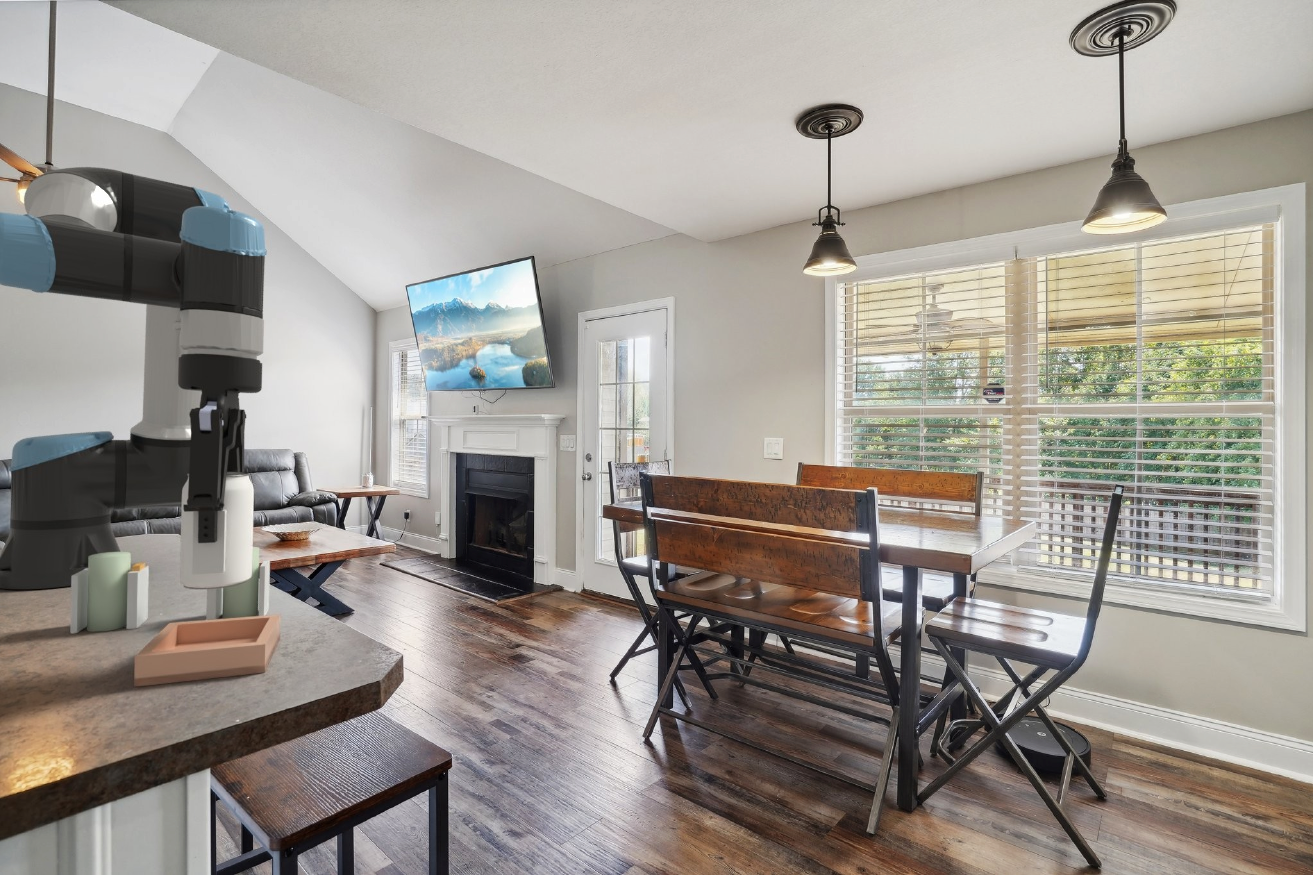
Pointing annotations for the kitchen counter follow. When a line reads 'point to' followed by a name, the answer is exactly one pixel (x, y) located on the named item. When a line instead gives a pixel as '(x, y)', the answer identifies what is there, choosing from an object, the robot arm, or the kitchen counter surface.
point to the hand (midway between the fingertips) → (217, 565)
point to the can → (237, 537)
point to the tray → (208, 650)
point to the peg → (107, 590)
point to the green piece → (243, 594)
